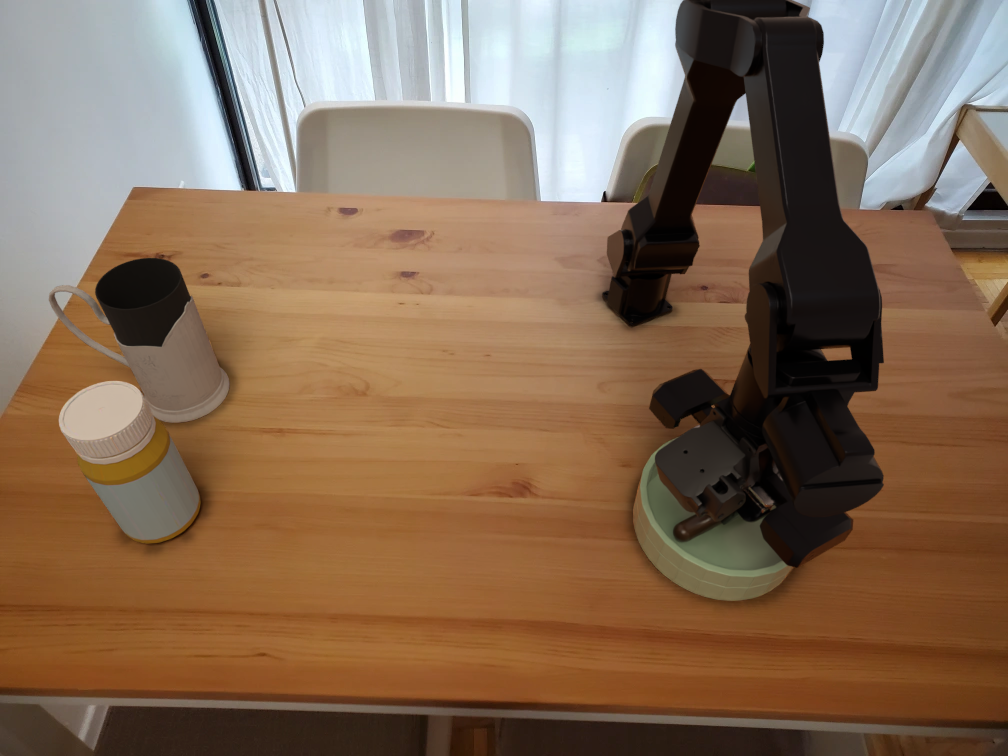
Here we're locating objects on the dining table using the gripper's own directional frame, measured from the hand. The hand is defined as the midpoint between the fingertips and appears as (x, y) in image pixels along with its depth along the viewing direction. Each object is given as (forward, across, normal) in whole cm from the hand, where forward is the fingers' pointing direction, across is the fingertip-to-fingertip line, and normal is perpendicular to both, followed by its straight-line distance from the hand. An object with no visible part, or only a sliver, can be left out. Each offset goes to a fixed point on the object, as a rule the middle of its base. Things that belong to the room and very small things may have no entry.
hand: (718, 513), depth 66 cm
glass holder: (+2, -41, -42) cm, 59 cm away
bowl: (+2, 0, 0) cm, 2 cm away
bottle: (+2, -25, -45) cm, 51 cm away
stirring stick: (+1, 0, 0) cm, 1 cm away
